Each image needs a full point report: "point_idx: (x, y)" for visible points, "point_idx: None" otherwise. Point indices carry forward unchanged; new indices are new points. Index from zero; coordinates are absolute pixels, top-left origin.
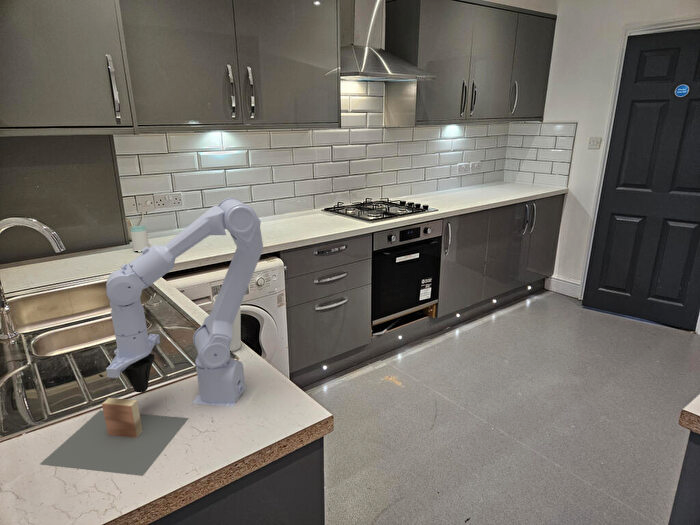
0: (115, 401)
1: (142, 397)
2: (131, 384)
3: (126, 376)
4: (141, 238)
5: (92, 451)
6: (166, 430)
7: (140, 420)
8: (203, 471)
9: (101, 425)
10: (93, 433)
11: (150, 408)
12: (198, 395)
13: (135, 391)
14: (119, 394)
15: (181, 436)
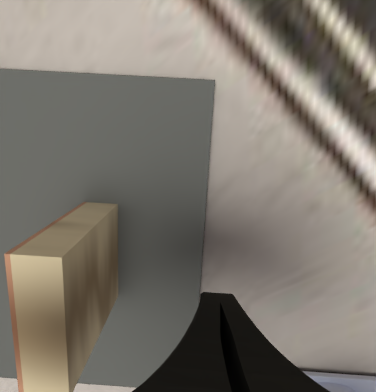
0: (39, 308)
1: (317, 188)
2: (196, 313)
3: (172, 354)
4: None
5: (4, 200)
6: (130, 357)
7: (104, 322)
8: None
9: (126, 147)
10: (83, 145)
11: (248, 250)
12: (313, 378)
13: (200, 297)
14: (342, 80)
15: (125, 389)
